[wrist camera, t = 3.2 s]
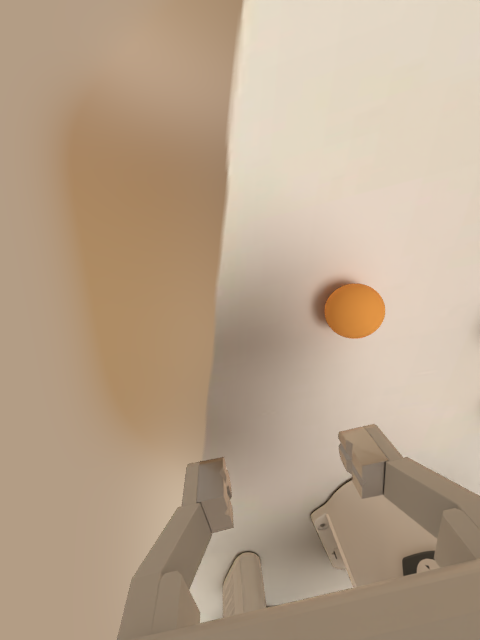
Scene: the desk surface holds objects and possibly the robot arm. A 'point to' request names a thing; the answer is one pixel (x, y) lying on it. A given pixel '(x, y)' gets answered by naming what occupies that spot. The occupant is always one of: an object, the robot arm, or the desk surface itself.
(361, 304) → the ball
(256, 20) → the desk surface
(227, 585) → the photo printer
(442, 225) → the desk surface
